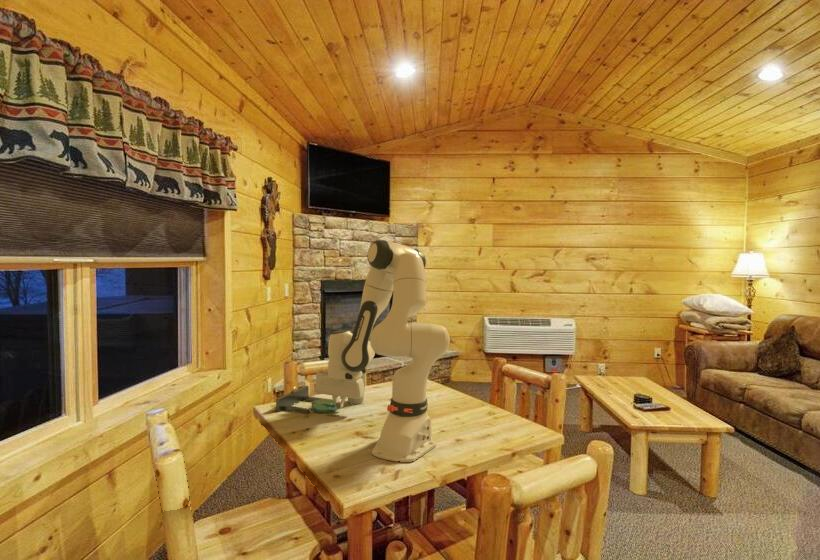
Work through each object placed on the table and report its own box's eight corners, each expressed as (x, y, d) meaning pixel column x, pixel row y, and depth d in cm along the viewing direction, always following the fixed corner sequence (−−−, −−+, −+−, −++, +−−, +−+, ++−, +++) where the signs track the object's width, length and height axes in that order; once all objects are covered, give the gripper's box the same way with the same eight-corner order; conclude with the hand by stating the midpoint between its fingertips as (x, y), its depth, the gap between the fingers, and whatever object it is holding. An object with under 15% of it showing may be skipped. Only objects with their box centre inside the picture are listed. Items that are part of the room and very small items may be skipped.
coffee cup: (355, 397, 194) (355, 363, 194) (369, 401, 189) (370, 366, 189) (341, 402, 187) (341, 366, 187) (356, 406, 183) (356, 369, 182)
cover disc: (329, 414, 172) (329, 408, 172) (306, 411, 176) (306, 404, 176) (341, 406, 182) (341, 400, 182) (320, 403, 185) (320, 397, 185)
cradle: (303, 415, 170) (303, 397, 170) (275, 411, 175) (275, 393, 175) (331, 400, 189) (331, 384, 189) (305, 397, 194) (305, 381, 193)
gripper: (312, 370, 177) (311, 405, 177) (358, 376, 169) (358, 412, 170) (320, 367, 183) (320, 401, 183) (366, 372, 175) (365, 407, 176)
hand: (339, 406), depth 177 cm, fingers closed
